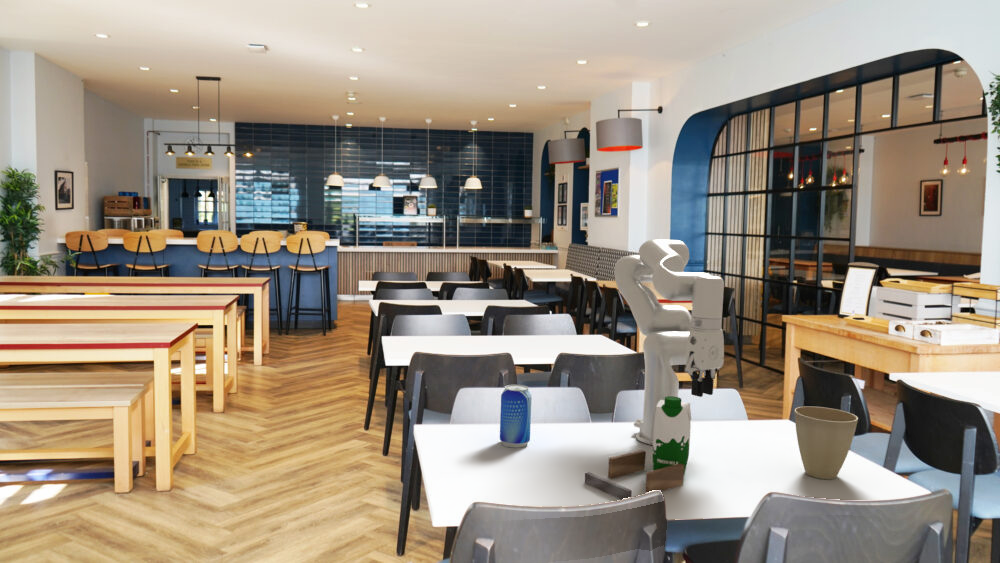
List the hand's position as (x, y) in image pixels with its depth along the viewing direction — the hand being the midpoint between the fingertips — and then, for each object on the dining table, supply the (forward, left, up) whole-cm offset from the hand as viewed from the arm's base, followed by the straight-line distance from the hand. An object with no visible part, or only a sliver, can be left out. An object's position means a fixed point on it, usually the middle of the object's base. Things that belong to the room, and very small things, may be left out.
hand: (702, 394), depth 196 cm
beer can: (-40, -29, -19) cm, 53 cm away
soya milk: (0, -11, -19) cm, 22 cm away
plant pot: (+21, +23, -19) cm, 37 cm away
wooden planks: (0, -24, -19) cm, 31 cm away
